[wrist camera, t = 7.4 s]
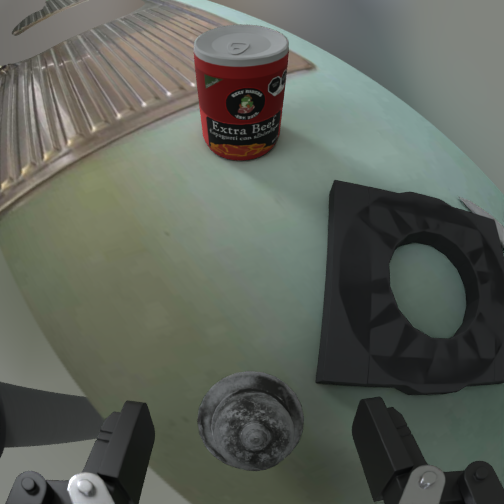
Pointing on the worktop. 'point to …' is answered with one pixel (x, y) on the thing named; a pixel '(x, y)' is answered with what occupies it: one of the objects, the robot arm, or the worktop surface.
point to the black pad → (383, 302)
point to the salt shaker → (250, 420)
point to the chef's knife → (476, 209)
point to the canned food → (241, 88)
